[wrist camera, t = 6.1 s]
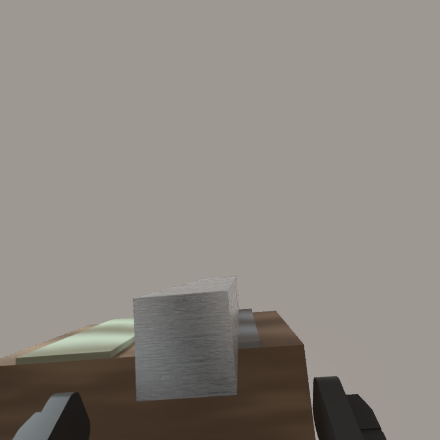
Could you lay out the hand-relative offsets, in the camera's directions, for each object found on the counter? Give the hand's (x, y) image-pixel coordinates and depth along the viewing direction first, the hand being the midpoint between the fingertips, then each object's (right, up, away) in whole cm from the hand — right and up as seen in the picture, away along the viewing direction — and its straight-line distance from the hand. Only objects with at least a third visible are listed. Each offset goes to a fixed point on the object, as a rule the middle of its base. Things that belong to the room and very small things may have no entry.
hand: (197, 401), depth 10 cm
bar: (0, -2, +11) cm, 11 cm away
